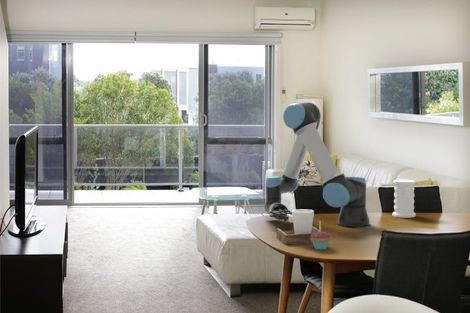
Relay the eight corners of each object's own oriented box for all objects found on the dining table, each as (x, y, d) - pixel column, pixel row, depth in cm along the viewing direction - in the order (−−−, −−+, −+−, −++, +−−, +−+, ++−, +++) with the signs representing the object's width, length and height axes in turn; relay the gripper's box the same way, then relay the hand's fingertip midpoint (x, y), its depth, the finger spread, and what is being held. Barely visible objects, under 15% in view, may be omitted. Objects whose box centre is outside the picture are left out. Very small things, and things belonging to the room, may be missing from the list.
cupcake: (308, 246, 309) (308, 218, 308) (328, 246, 310) (328, 217, 309) (312, 251, 301) (312, 221, 300) (333, 250, 302) (333, 221, 300)
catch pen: (276, 237, 329) (276, 228, 329) (313, 235, 333) (313, 226, 332) (285, 244, 314) (285, 235, 313) (324, 242, 317) (324, 233, 316)
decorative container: (392, 217, 375) (392, 182, 374) (392, 213, 387) (392, 179, 385) (415, 218, 373) (416, 182, 371) (415, 214, 384) (415, 179, 382)
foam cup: (287, 241, 321) (287, 211, 320) (299, 237, 328) (299, 208, 327) (306, 243, 315) (305, 213, 314) (318, 240, 322) (317, 210, 321)
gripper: (291, 218, 361) (305, 226, 338) (265, 219, 358) (278, 228, 335) (291, 202, 360) (305, 210, 337) (265, 203, 358) (278, 211, 335)
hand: (292, 219), depth 336 cm, fingers closed
